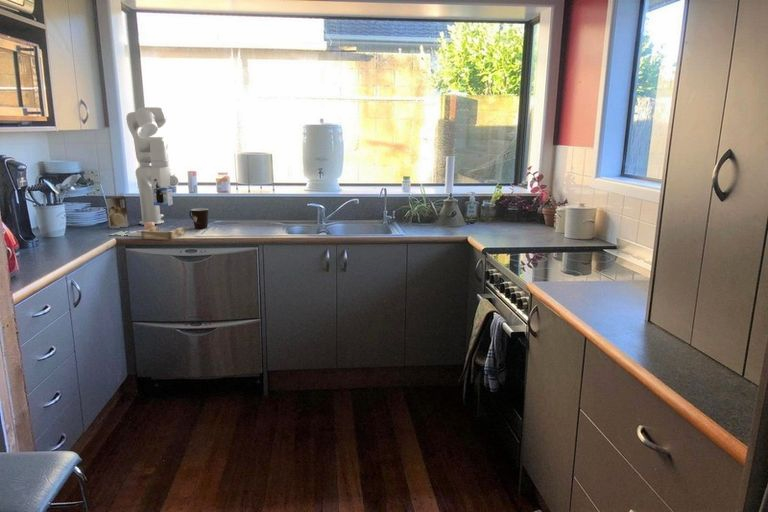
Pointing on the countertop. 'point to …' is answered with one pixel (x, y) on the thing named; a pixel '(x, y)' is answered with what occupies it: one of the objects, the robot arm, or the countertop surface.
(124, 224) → the coffee box
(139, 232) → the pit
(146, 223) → the peach rounded capsule
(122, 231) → the board
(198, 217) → the coffee mug
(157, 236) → the cubby
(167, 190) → the medicine box
